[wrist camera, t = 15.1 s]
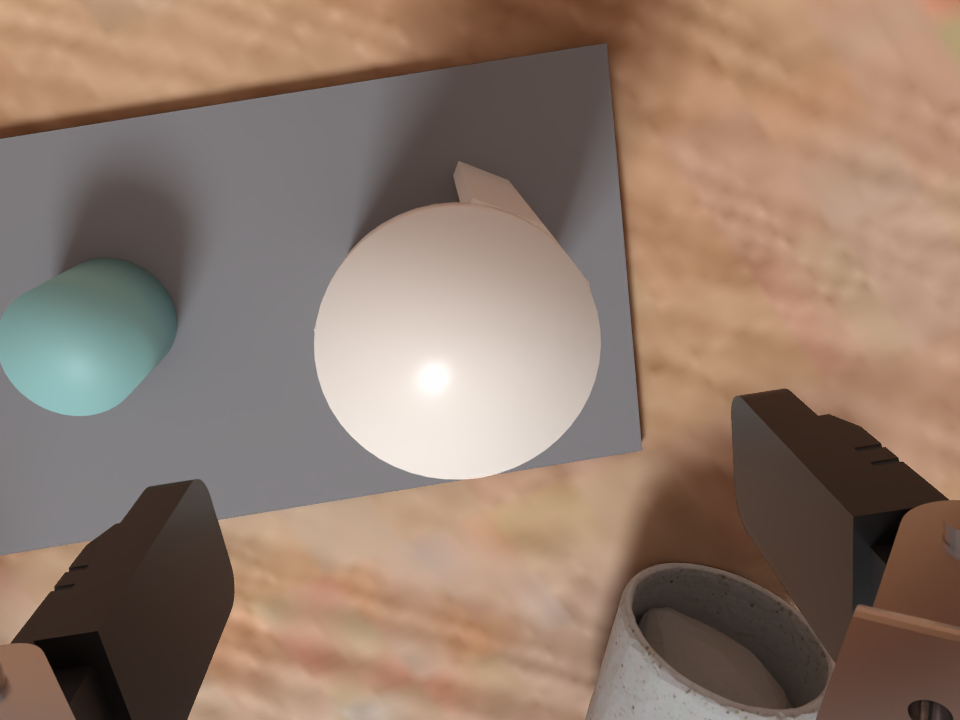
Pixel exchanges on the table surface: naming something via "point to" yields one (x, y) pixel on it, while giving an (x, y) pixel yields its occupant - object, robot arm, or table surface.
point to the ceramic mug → (708, 651)
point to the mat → (286, 275)
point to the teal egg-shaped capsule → (87, 336)
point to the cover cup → (458, 335)
